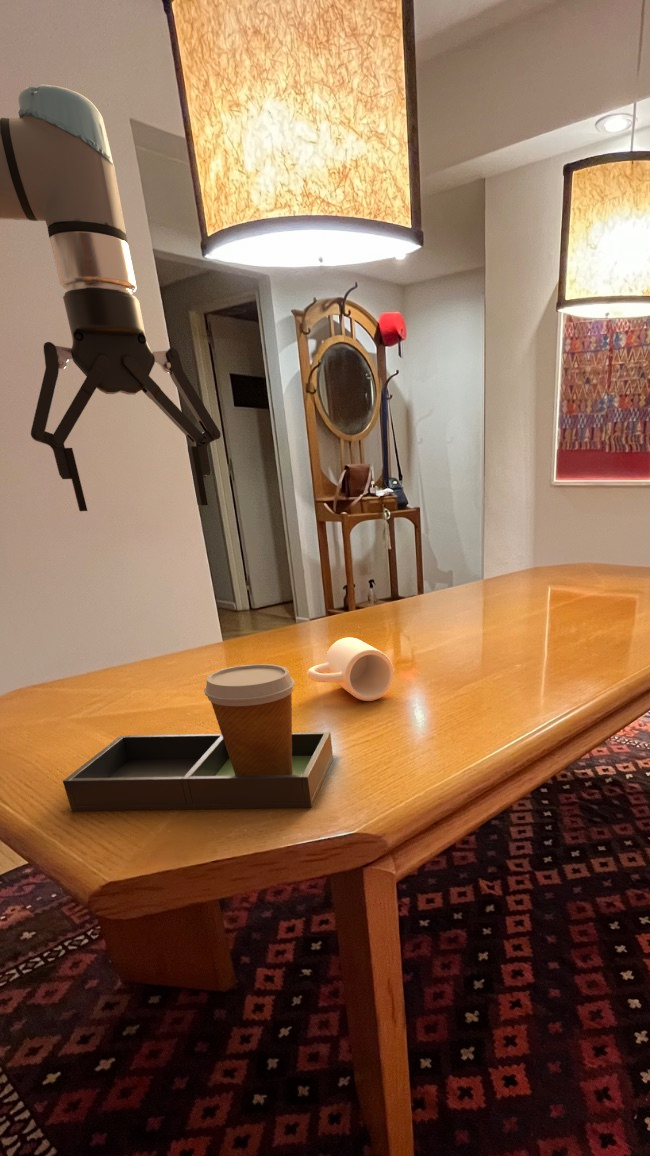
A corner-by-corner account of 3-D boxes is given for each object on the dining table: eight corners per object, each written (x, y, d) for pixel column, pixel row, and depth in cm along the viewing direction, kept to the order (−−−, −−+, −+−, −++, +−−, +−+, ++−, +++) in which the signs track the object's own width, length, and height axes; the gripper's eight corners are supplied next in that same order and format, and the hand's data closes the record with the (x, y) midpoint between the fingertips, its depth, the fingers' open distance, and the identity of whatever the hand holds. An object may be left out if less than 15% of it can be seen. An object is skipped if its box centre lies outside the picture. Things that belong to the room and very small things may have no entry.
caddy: (71, 811, 73) (62, 780, 71) (127, 762, 85) (120, 735, 83) (311, 807, 72) (307, 777, 70) (333, 758, 84) (330, 731, 82)
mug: (372, 681, 114) (369, 634, 110) (396, 696, 106) (392, 646, 102) (303, 692, 109) (297, 643, 106) (322, 709, 101) (316, 657, 98)
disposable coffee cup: (319, 762, 81) (307, 664, 76) (284, 797, 73) (267, 689, 67) (247, 757, 83) (230, 661, 78) (205, 790, 75) (183, 685, 69)
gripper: (211, 308, 81) (240, 502, 90) (-34, 290, 70) (28, 512, 80) (225, 295, 75) (255, 503, 84) (-40, 273, 64) (27, 514, 74)
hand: (145, 508), depth 82 cm, fingers open, 13 cm apart
